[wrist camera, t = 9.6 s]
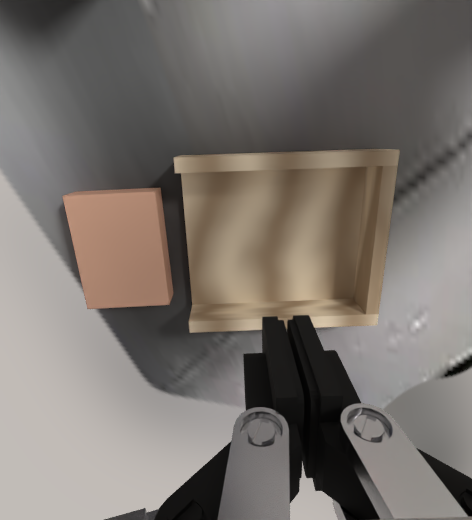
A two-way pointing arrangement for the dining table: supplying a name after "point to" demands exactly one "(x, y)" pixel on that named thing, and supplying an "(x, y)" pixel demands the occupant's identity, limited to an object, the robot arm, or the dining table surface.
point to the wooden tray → (287, 236)
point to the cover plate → (120, 247)
